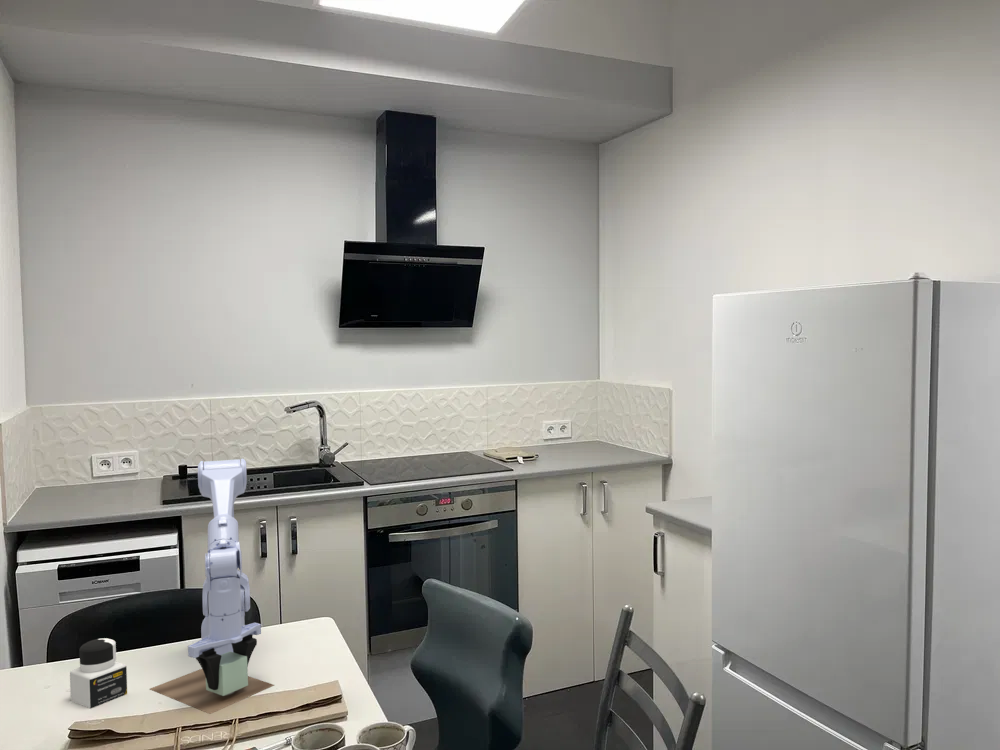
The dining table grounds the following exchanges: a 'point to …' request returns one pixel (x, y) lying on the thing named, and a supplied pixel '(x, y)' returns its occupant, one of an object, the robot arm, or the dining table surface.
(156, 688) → the base board
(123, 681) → the medicine bottle
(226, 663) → the mint green cube
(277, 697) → the dining table surface
